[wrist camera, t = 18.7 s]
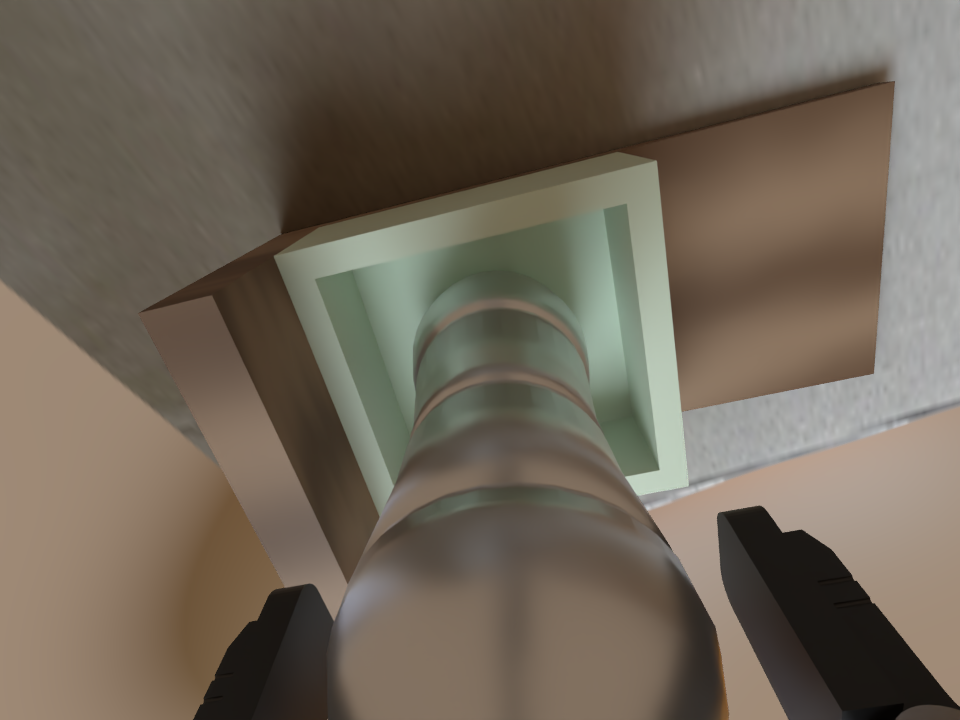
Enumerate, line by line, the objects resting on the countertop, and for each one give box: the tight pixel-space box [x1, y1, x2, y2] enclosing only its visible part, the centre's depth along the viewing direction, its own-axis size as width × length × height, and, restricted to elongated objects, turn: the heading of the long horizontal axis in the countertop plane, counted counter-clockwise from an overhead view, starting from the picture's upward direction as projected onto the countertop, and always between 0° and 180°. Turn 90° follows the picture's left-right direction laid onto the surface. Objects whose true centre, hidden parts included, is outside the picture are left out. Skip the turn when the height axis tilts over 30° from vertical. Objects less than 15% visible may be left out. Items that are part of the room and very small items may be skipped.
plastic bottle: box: [327, 270, 729, 720], centre depth 13 cm, size 6×7×20 cm
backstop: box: [138, 81, 895, 621], centre depth 19 cm, size 12×24×10 cm, turn 104°
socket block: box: [274, 152, 689, 517], centre depth 21 cm, size 12×12×5 cm
